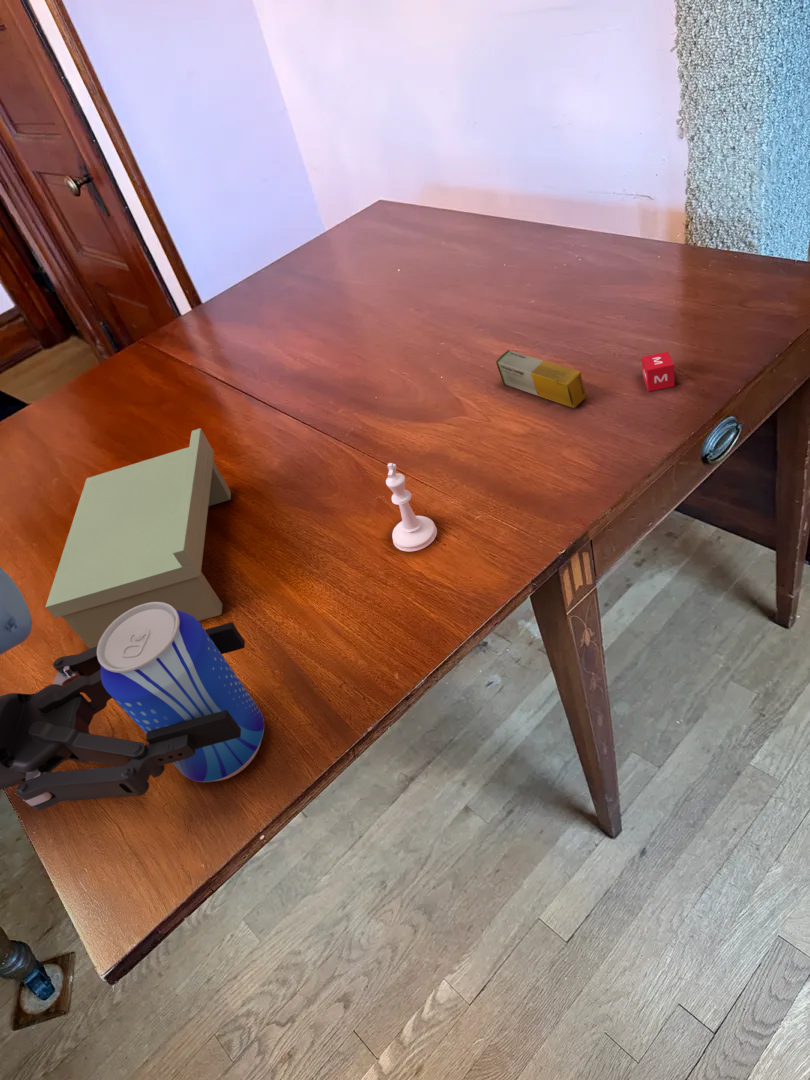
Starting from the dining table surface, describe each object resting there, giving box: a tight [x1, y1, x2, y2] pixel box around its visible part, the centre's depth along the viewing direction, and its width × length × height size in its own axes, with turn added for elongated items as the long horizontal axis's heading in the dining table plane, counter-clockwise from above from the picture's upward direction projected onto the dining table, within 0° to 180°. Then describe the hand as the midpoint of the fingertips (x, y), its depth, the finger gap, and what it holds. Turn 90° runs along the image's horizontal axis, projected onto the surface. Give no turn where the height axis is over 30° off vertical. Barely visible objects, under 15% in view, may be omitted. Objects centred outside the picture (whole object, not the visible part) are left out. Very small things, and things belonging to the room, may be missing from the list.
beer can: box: [97, 602, 265, 783], centre depth 62 cm, size 8×8×16 cm
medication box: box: [495, 349, 587, 409], centre depth 92 cm, size 12×3×4 cm, turn 40°
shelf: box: [45, 427, 232, 649], centre depth 85 cm, size 16×22×10 cm
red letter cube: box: [641, 351, 675, 392], centre depth 88 cm, size 3×3×3 cm
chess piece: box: [385, 462, 438, 553], centre depth 77 cm, size 5×5×10 cm
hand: (235, 676), depth 61 cm, fingers closed on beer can, 8 cm apart
